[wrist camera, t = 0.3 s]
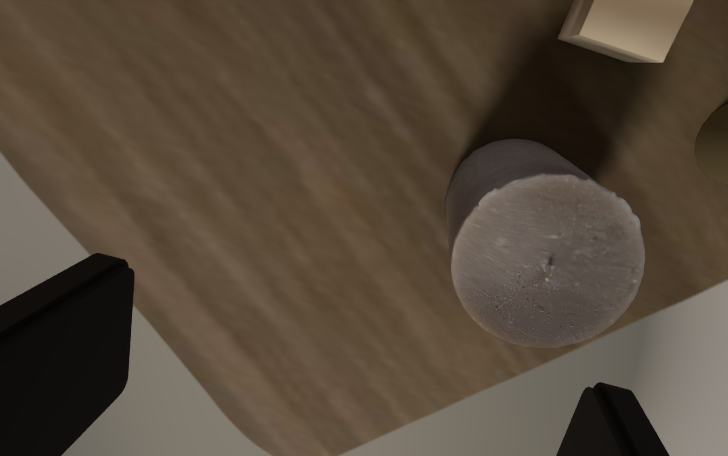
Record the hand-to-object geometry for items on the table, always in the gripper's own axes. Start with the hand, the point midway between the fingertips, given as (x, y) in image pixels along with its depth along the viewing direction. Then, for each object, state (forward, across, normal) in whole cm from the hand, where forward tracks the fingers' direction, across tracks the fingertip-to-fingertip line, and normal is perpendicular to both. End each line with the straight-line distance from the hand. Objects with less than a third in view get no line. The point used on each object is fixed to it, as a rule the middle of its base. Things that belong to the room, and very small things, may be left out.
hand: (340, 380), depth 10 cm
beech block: (+30, -10, -12) cm, 34 cm away
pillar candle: (+31, -8, +2) cm, 32 cm away
